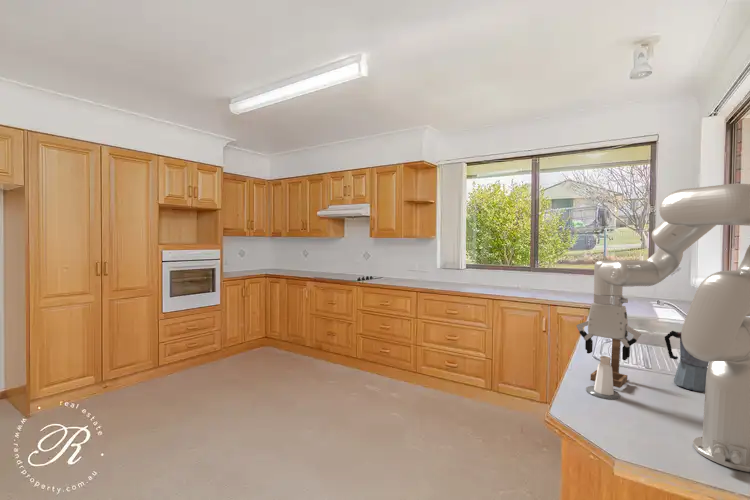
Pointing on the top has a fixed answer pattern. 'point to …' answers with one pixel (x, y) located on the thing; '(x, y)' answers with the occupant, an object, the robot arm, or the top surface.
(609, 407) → the top surface
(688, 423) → the top surface
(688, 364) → the moka pot
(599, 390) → the pepper shaker
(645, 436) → the top surface
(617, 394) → the coaster
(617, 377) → the ring stand
